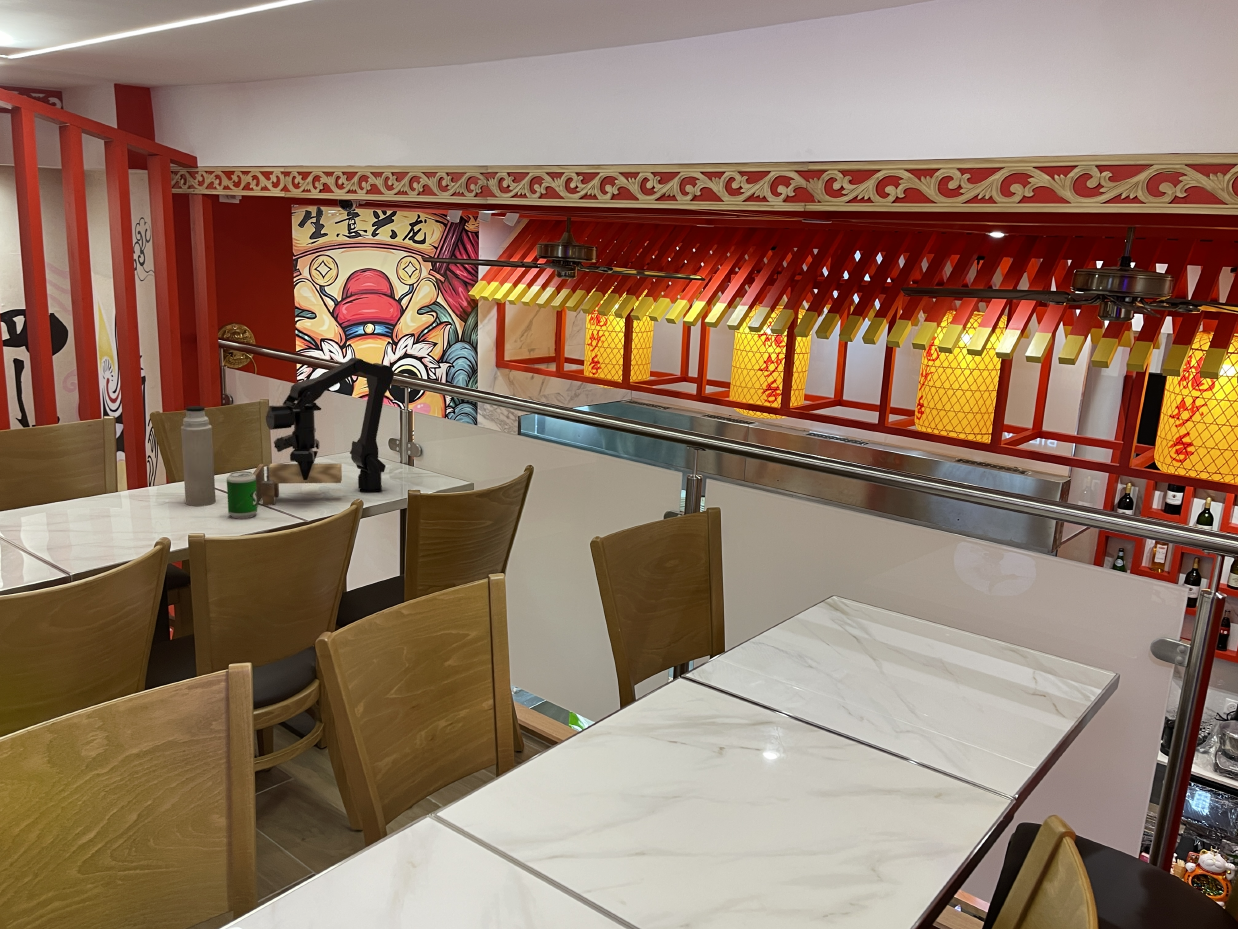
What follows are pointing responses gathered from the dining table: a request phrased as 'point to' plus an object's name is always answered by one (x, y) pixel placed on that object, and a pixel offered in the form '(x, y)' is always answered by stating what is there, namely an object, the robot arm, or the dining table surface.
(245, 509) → the soda can
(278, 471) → the rail
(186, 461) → the thermos bottle
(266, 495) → the headboard
